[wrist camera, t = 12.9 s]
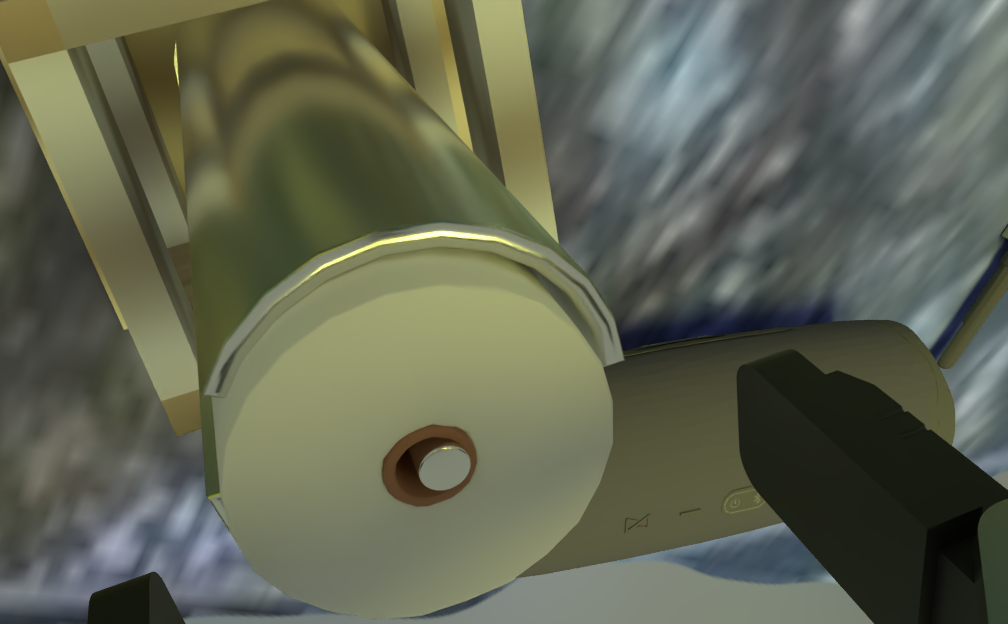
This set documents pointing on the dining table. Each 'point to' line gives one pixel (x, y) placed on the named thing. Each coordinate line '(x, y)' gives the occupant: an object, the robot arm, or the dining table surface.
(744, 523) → the bluetooth speaker
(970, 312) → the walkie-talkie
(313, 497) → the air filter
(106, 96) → the collar stand
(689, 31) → the dining table surface
